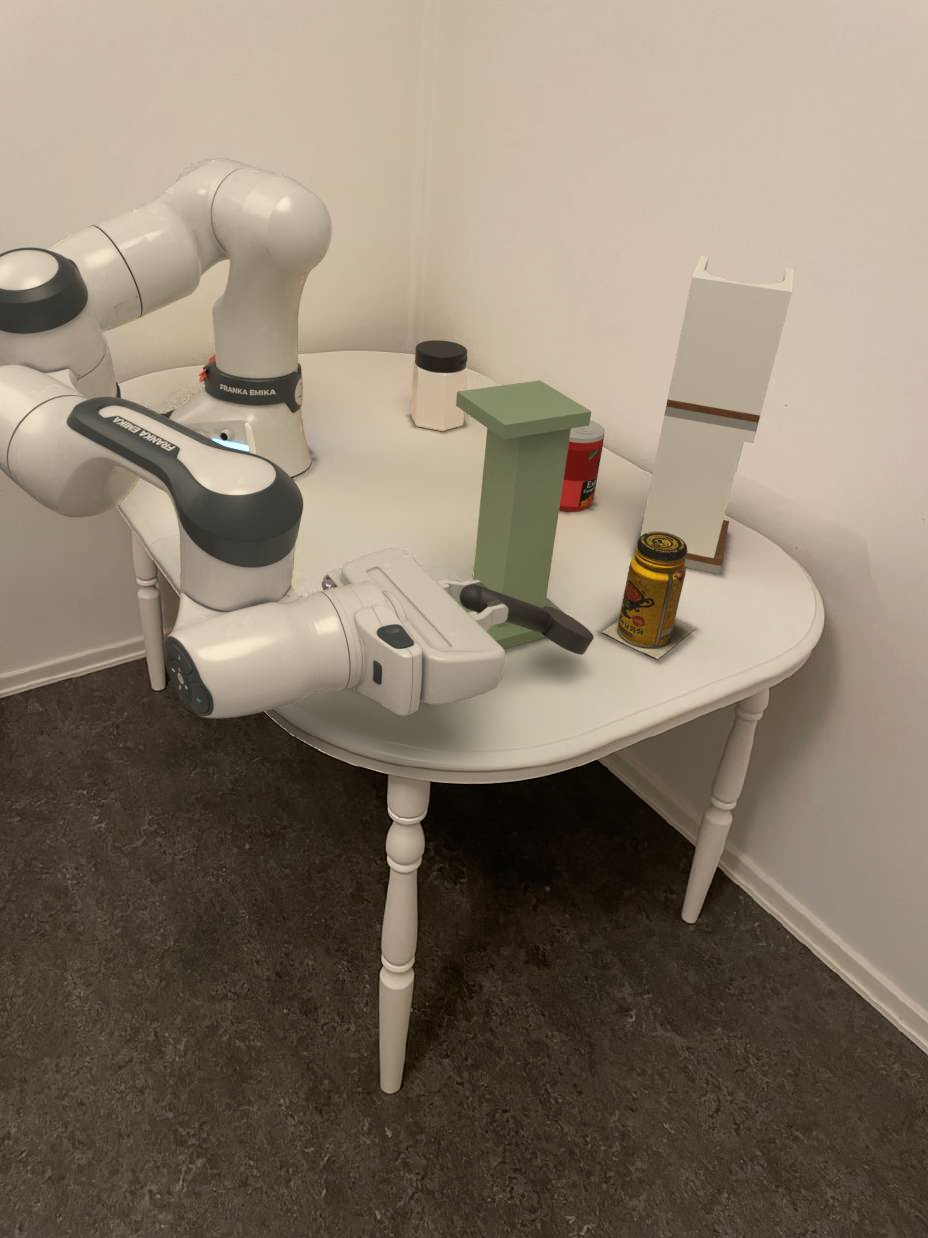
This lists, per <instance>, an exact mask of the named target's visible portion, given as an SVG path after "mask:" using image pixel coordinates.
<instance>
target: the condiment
mask: <svg viewBox="0 0 928 1238" xmlns="http://www.w3.org/2000/svg"><path fill="white" fill-rule="evenodd" d="M634 551H635V552H634V556H632V558H631V559H630V562H629V566H628V571H627V576H626V581H625V586H624V587H625V588H624V590H623V598H622V602H621V607H620V611H619V618H618V620H617V621H615V622H614V623H612V624H611V625H610V626H608V627H607V628H606V629H604V630H602V631H601V632H602V633H603V634H605V635H606V636H608V637H611V638H613V639H614V640H616V641H618V642H620V643H622V644H624V645H626V646H628V647H630V648H632V649H635V650H637V651H638V652H641V653H643V654H646V655H648V656H650V657H653V658H654V659H657V660H659V659H660V658H661V657H663V656H664V655H665V654H666V653H668V651H671V650H672V649H673V648H674V647H675V646H676V645H678V643H679V642H680V641H682V640H683V639H684V638H685V637H687V636H688V635H689V634H691V632H692V631H694V630H695V629H696V627H694V626H691V625H687V624H686V623H682V622H681V621H679V620H676V618H677V617H676V616H677V613H678V608H679V605H680V604H679V603H680V600H681V595H682V592H683V591H682V590H683V587H684V582H685V578H686V574H687V573H686V572H687V569H686V568H687V567H685V565H684V563H685V561H686V559H685V556H686V553H687V545H686V544H685V542H684V541H683V540H682V539H681V538H679V537H677V536H676V535H673V534H670V533H666V532H656V531H655V532H648V533H645V534H643V535H642V536H640V535H639V539H638V540H637V545H636V548H635V550H634Z"/></svg>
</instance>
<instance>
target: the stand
mask: <svg viewBox="0 0 928 1238" xmlns="http://www.w3.org/2000/svg"><path fill="white" fill-rule="evenodd" d="M456 406H457V407H459V408H460V409H461V410H463V411H464V413H465V414H467V415H468V416H470V417H471V418H473V419H474V420H475V421H476V422H478V423H479V424H481V425H482V426H484V427H485V428H486V438H485V448H484V460H483V470H482V471H483V472H482V478H481V479H482V480H481V481H482V482H481V489H480V491H481V492H480V500H479V501H480V502H479V512H478V523H477V534H476V543H475V554H474V564H473V576H472V581H473V580H479V581H480V582H481V583H482V584H483V585H484V586H485V587H486V588H487V589H490V590H493V591H495V592H498V593H501V594H504V595H507V596H510V597H512V598H515V599H518V600H521V601H524V602H527V603H529V604H532V605H535V606H538V607H541V608H543V607H544V606H549V607H552V608H555V609H557V610H559V611H561V612H563V613H565V612H564V611H563V610H562V609H561V608H560V607H559V606H557V605H556V604H555V603H554V602H553V601H552V600H551V599H549V598H548V597H547V595H548V589H549V583H550V575H551V568H552V561H553V555H554V549H555V540H556V533H557V527H558V520H559V515H560V510H559V507H560V500H561V494H562V487H563V480H564V473H565V466H566V459H567V452H568V446H569V439H570V432H571V428H577V427H583V426H589V424H590V420H591V416H592V410H590V409H589V408H587V407H585V406H584V405H582V404H580V403H578V402H577V401H575V400H574V399H572V398H570V397H569V396H567V395H565V394H563V393H562V392H560V391H559V390H557V389H555V388H553V387H552V386H550V385H548V383H545V382H544V381H542V380H531V381H526V382H525V381H524V382H517V383H510V384H503V385H502V384H501V385H496V386H488V387H482V388H481V387H480V388H474V389H466V390H465V391H457V398H456ZM457 603H458V604H459V605H460V606H461V607H462V608H463V609H464V610H465V611H466V612H467V613H469V612H473V611H472V610H469V609H466V608H465V607H464V606H463V605H462V604H461V602H457ZM476 613H477V615H478V614H480V613H478V612H476ZM487 633H488V634H489V635H490V636H491V637H492V638H493V639H494V640H495V641H496V642H497V643H498V644H499V645H500V646H501V647H502V648H503V649H504V650H507V649H510V648H513V647H518V646H520V645H521V646H522V645H524V644H527V643H531V642H534V641H539V640H542V639H545V638H546V637H545V636H544V635H543V634H542V633H540V632H536V631H533V630H530V629H527V628H524V627H521V626H518V625H515V624H512V623H509V622H503V623H500V624H496V625H492V626H491V628H490V629H489V630H488V631H487Z"/></svg>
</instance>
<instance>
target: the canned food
mask: <svg viewBox="0 0 928 1238" xmlns="http://www.w3.org/2000/svg"><path fill="white" fill-rule="evenodd" d="M605 432H606V431H605V428H604V427H603V426H602V425H601V424H600V423H598V422H597V421H595V420H592V419H590V424H589V426H583V427H577V428H571V432H570V439H569V446H568V452H567V459H566V466H565V473H564V480H563V487H562V494H561V500H560V507H559V511H561V512H569V513H571V512H573V513H574V512H581V511H584V510H587V509H589V508H590V507H591V505H592V503H593V501H594V499H595V494H596V487H597V482H598V476H599V471H600V463H601V459H602V453H603V449H604V439H605Z"/></svg>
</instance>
